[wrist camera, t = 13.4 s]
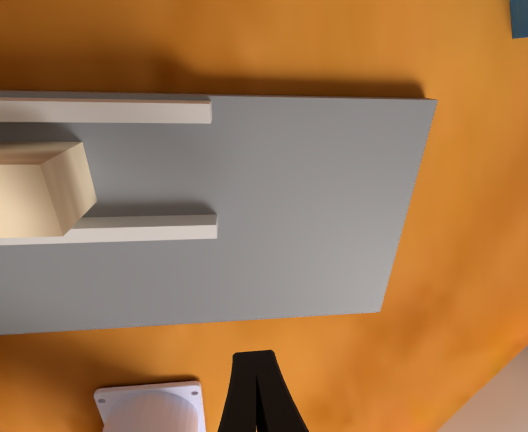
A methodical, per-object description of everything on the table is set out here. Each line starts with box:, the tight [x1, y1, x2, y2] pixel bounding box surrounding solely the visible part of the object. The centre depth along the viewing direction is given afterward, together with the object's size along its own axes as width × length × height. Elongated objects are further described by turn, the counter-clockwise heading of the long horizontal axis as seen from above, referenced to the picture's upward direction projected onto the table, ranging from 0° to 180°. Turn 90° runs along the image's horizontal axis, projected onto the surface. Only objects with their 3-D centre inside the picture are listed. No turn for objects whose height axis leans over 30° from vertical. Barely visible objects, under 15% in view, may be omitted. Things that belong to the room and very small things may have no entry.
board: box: [0, 90, 438, 335], centre depth 14 cm, size 14×30×6 cm, turn 88°
